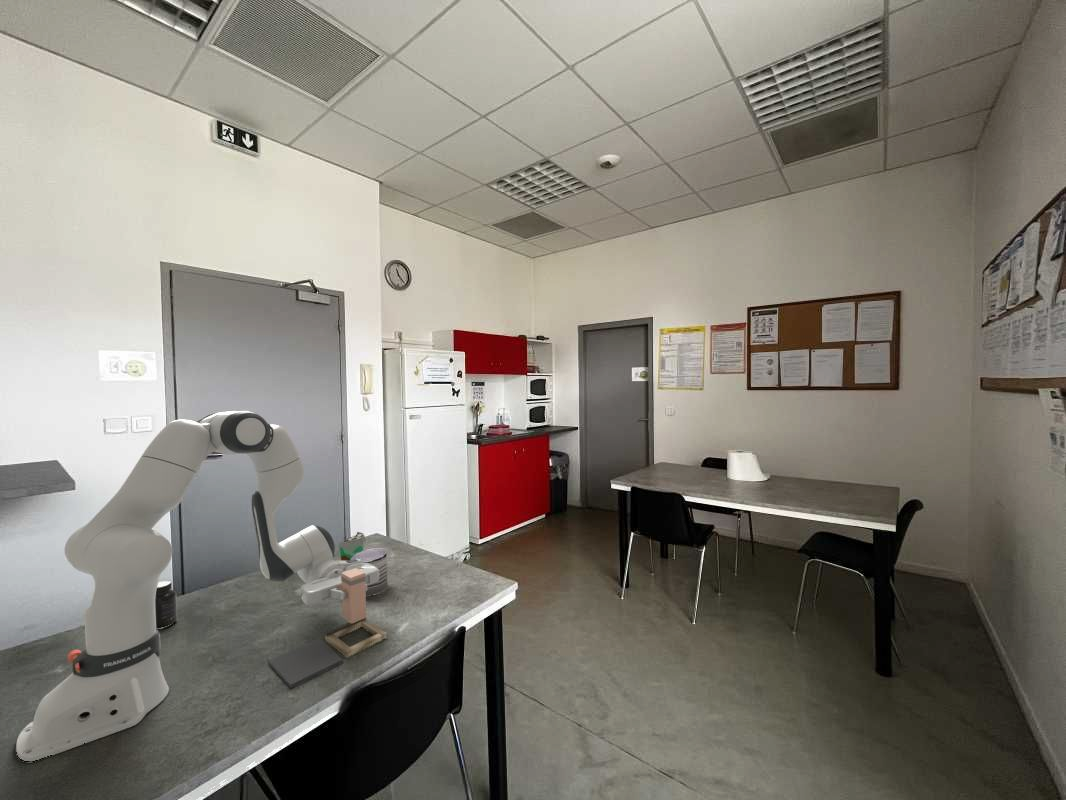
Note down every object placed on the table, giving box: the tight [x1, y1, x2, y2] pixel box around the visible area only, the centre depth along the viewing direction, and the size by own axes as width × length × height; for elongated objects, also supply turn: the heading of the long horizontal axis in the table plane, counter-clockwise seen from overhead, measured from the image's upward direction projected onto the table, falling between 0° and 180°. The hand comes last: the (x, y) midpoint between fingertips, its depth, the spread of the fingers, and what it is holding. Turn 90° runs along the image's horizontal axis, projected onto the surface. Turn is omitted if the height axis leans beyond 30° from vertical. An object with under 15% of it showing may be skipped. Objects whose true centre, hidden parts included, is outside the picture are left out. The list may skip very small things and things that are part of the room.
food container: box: [338, 531, 366, 561], centre depth 171 cm, size 12×6×10 cm, turn 168°
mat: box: [267, 638, 344, 689], centre depth 109 cm, size 12×14×1 cm
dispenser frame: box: [324, 617, 388, 658], centre depth 119 cm, size 11×12×2 cm
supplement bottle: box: [155, 580, 178, 628], centre depth 128 cm, size 7×7×12 cm
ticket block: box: [341, 568, 367, 624], centre depth 118 cm, size 4×5×12 cm
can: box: [351, 547, 389, 597], centre depth 149 cm, size 11×11×12 cm
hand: (355, 592), depth 118 cm, fingers closed on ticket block, 4 cm apart
